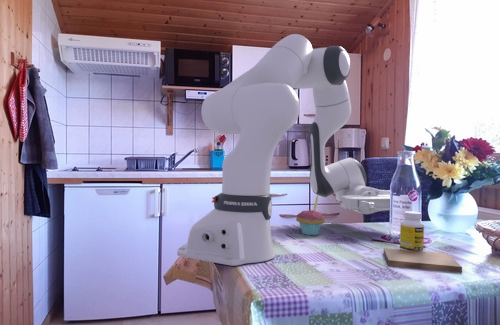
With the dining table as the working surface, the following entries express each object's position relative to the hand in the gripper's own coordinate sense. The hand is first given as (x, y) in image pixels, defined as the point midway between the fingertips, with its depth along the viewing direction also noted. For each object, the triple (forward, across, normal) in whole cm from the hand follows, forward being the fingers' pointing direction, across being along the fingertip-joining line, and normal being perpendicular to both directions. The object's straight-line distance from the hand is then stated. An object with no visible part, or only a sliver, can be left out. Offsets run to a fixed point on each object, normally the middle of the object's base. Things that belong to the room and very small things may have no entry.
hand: (387, 206), depth 101 cm
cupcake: (-9, -20, +10) cm, 24 cm away
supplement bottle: (+12, 0, +10) cm, 16 cm away
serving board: (+22, -4, +9) cm, 24 cm away
